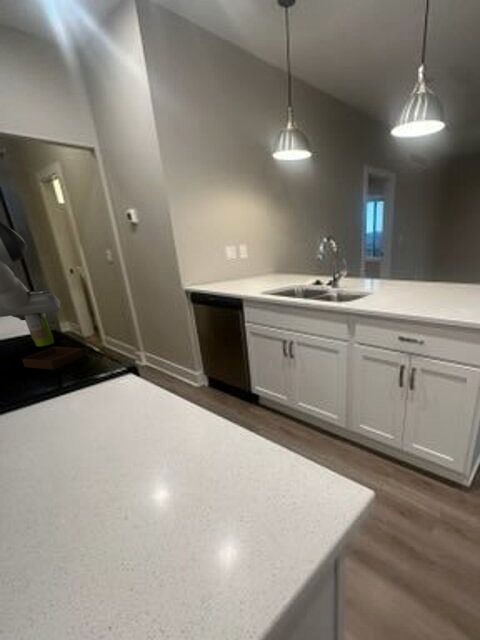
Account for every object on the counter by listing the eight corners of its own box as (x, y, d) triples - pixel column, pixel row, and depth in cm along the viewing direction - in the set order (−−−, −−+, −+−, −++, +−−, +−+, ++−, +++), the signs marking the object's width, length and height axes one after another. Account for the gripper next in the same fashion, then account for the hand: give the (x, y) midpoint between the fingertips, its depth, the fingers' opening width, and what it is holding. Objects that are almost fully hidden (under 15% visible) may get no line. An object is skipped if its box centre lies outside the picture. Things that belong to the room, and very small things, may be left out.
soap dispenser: (36, 348, 125) (16, 293, 117) (35, 344, 130) (15, 291, 122) (55, 344, 128) (37, 290, 121) (53, 340, 133) (35, 288, 126)
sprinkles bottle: (49, 335, 122) (37, 297, 117) (44, 339, 118) (31, 300, 112) (35, 336, 121) (21, 298, 116) (29, 340, 117) (15, 301, 111)
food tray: (24, 367, 108) (21, 359, 107) (56, 354, 118) (54, 346, 117) (54, 369, 105) (51, 361, 104) (84, 356, 115) (82, 348, 114)
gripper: (49, 282, 109) (67, 306, 121) (-29, 288, 103) (-2, 313, 115) (49, 298, 106) (68, 321, 119) (-31, 306, 101) (-3, 329, 113)
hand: (33, 317), depth 117 cm, fingers closed on sprinkles bottle, 4 cm apart
